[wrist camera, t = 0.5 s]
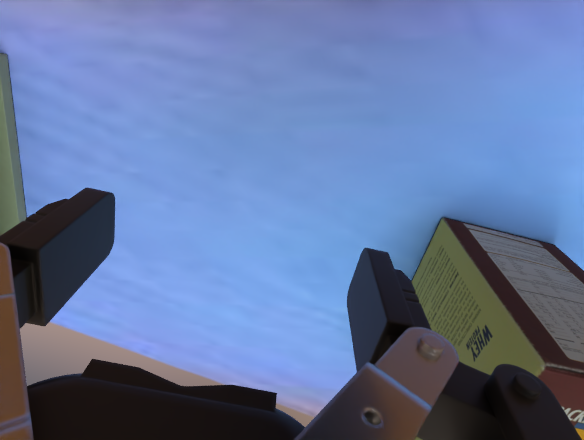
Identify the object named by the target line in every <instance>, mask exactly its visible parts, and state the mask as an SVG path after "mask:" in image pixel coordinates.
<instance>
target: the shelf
mask: <svg viewBox="0 0 584 440" xmlns="http://www.w3.org/2000/svg"><path fill="white" fill-rule="evenodd" d="M26 218H27V217H26V209H25V201H24V192H23V184H22V175H21V167H20V159H19V150H18V142H17V133H16V125H15V117H14V108H13V100H12V92H11V83H10V75H9V66H8V58H7V55H6V54H3V53H0V236H1V235H2V234H4V233H5V232H7V231H8V230H10V229H11V228H13V227H14V226H16V225H17V224H19V223H20V222H22V221H25V220H26Z"/></svg>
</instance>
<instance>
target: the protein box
mask: <svg viewBox="0 0 584 440" xmlns="http://www.w3.org/2000/svg"><path fill="white" fill-rule="evenodd" d="M412 284H413V287H414V289H415V291H416V293H415V294H417V296H418V299H419V303H421V306H422V308H423V310H424V313H425V315H426V318H427V320H428V322H429V325H430V327H431V329H432V331H435V332H437V333H438V334H440V335H442V336H443V337H444V338H446V339H447V340H448V341H449V342H450V343H451V344H452V345H453V346H454V348H455V349H456V351H457V353H458V356H459V361H460V362H462V363H464V364H466V365H468V366H470V367H472V368H475V369H477V370H479V371H482V372H484V373H486V374H489V375H491V374H492V372H493V371H494V369H495V367H497V366H498V365H500V364H511V365H515V366H518V367H520V368H523V369H525V370H527V371H529V372H530V373H532V374H533V375H535V376H536V377H538V378H539V379H540V380H541V381H543V382H544V383H545V384H546V385H547V386H548V388H549V389H550V390H551V391H552V393H553V394H554V395H555V397H556V399H557V400H558V402H559V403H560V405H561V407H562V408H563V410H564V411H565V413H566V415H567V416H568V418H569V419H570V421H571V423H572V424H573V426H574V427H575V429H576V431H577V432H578V434H579V435H580V437H581V439H582V440H584V271H583V270H582V269H581V268H580V267H579V266H578V265H577V264H576V263H574V262H573V261H572V260H571V259H570V258H569V257H568V256H567V255H565V254H564V253H563V252H562V251H561V250H560V249H558V248H557V247H556V246H555V245H553V244H549V243H545V242H541V241H536V240H532V239H529V238H524V237H520V236H517V235H513V234H508V233H505V232H501V231H497V230H492V229H488V228H484V227H480V226H476V225H472V224H468V223H464V222H460V221H456V220H451V219H448V218H442V219H441V221H440V223H439V225H438V227H437V229H436V232H435V234H434V236H433V238H432V240H431V242H430V244H429V246H428V249H427V251H426V253H425V255H424V257H423V259H422V261H421V263H420V265H419V267H418V269H417V271H416V274H415V276H414V278H413V280H412ZM415 440H422V439H420V438H418V437H416V439H415Z"/></svg>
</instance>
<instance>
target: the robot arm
mask: <svg viewBox="0 0 584 440" xmlns="http://www.w3.org/2000/svg"><path fill="white" fill-rule="evenodd" d="M114 232H115V197H114V194H113V193H110V192H106V191H101V190H96V189H92V188H85V189H83V190H82V191H80V192H79V193H77V194H76V195H75V196H73V197H72V198H70V199H69V200H68V199H63V200H60V201H57V202H54V203H50V204H48V205H46V206H44V207H43V208H41V209H40V210H38V211H37V212H36V214H32V215H31V216H29V217H28V218H26V220H25V221H22V222H20V223H19V224H17V225H16V226H14V227H13V228H11V229H10V230H8V231H7V232H5V233H4V234H2V235H1V236H0V440H415V439H416V437H418V438H420V439H422V440H582V439H581V437H580V435H579V434H578V432H577V431H576V429H575V427H574V426H573V424H572V423H571V421H570V419H569V418H568V416H567V415H566V413H565V411H564V410H563V408H562V407H561V405H560V403H559V402H558V400H557V399H556V397H555V395H554V394H553V393H552V391H551V390H550V389H549V388H548V386H547V385H546V384H545V383H544V382H543V381H541V380H540V379H539V378H538V377H536V376H535V375H533V374H532V373H530V372H529V371H527V370H525V369H523V368H520V367H518V366H515V365H511V364H500V365H498V366H497V367H495V369H494V371H493V372H492V374H491V375H489V374H486V373H484V372H482V371H479V370H477V369H475V368H472V367H470V366H468V365H466V364H464V363H462V362H460V361H459V356H458V353H457V351H456V349H455V348H454V346H453V345H452V344H451V343H450V342H449V341H448V340H447V339H446V338H444V337H443V336H442V335H440V334H438V333H437V332H435V331H432V329H431V327H430V325H429V322H428V320H427V318H426V315H425V313H424V310H423V308H422V306H421V303H419V299H418V296H417V294H415V293H416V291H415V289H414V287H413V284H412V282H411V281H410V279H409V278H408V277H407V276H406V275H405V274H404V273H403V272H402V271H401V270H396V269H394V267H393V264H392V261H391V259H390V256H389V254H388V253H387V252H383V251H378V250H374V249H369V248H364V249H363V251H362V253H361V256H360V258H359V261H358V264H357V267H356V270H355V273H354V275H353V278H352V281H351V284H350V287H349V291H348V296H347V308H348V315H349V322H350V328H351V335H352V342H353V349H354V355H355V362H356V369H357V373H356V374H355V375H354V376H353V377H352V379H351V380H350V381H349V382H348V383H347V384H346V385H345V386H344V387H343V388H342V389H341V390H340V391H339V392H338V393H337V394H336V396H335V397H334V398H333V399H332V400H331V401H330V402H329V403H328V404H327V405H326V406H325V407H324V408H323V409H322V410H321V411H320V413H319V414H318V415H317V416H316V417H315V418H314V419H313V420H312V421H311V422H310V423H309V424H308V425H307V426H306V427H304V426H303V425H302V424H301V423H299V422H298V421H296V420H295V419H294V418H292V417H291V416H289V415H288V414H286V413H284V412H283V411H280V410H278V409H276V408H275V407H276V395H277V393H273V392H268V391H263V390H257V389H252V388H247V387H241V386H236V385H217V386H216V385H215V386H189V387H188V386H187V387H186V386H180V385H177V384H175V383H173V382H170V381H168V380H166V379H164V378H161V377H159V376H157V375H154V374H152V373H150V372H148V371H145V370H143V369H141V368H138V367H133V366H128V365H123V364H117V363H111V362H106V361H101V360H96V359H92V360H91V362H90V363H89V365H88V366H87V368H86V369H85V371H84V372H83V374H71V375H64V376H59V377H54V378H50V379H47V380H43V381H40V382H37V383H34V384H32V385H29V386H27V384H26V376H25V368H24V360H23V353H22V344H21V336H20V328H21V327H22V326H23V325H24V324H25V323H30V324H35V325H40V326H46V325H47V324H48V322H49V321H50V320H51V319H52V318H53V317H54V316H55V315H56V313H57V312H58V311H59V310H60V309H61V308H62V307H63V306H64V305H65V303H66V302H67V301H68V300H69V299H70V298H71V297H72V296H73V294H74V293H75V292H76V291H77V290H78V289H79V288H80V287H81V285H82V284H83V283H84V282H85V281H86V280H87V279H88V278H89V277H90V275H91V274H92V273H93V272H94V271H95V270H96V269H97V268H98V266H99V265H100V264H101V263H102V262H103V261H104V260H105V259H106V257H107V256H108V255H109V253H110V251H111V249H112V246H113V243H114Z"/></svg>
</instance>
